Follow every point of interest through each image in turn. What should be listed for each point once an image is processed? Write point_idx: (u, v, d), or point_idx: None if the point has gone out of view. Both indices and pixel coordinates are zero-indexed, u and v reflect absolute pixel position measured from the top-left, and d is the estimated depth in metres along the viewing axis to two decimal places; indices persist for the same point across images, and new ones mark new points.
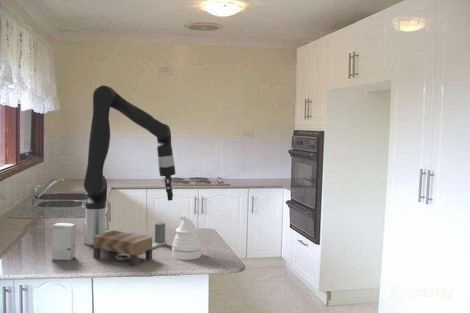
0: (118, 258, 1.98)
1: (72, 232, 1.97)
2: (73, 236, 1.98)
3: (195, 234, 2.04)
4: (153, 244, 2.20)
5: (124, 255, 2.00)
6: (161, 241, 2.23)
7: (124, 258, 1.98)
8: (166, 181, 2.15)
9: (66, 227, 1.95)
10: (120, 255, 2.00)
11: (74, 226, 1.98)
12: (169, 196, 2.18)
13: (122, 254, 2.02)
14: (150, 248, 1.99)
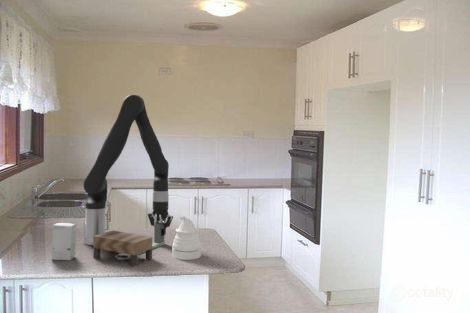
0: (118, 258, 1.98)
1: (72, 232, 1.97)
2: (73, 236, 1.98)
3: (195, 234, 2.04)
4: (152, 244, 2.20)
5: (124, 255, 2.00)
6: (160, 241, 2.23)
7: (124, 258, 1.98)
8: (170, 219, 2.20)
9: (66, 227, 1.95)
10: (120, 255, 2.00)
11: (74, 226, 1.98)
12: (164, 231, 2.23)
13: (122, 254, 2.02)
14: (150, 248, 1.99)
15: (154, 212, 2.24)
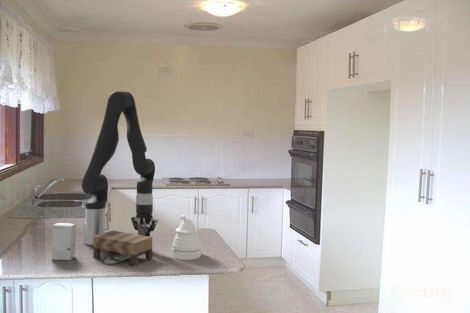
0: (107, 262, 1.91)
1: (72, 232, 1.97)
2: (73, 236, 1.98)
3: (195, 234, 2.04)
4: None
5: (113, 259, 1.94)
6: None
7: (113, 262, 1.91)
8: (154, 223, 2.09)
9: (66, 227, 1.95)
10: (109, 259, 1.94)
11: (74, 226, 1.98)
12: None
13: (111, 258, 1.95)
14: (150, 248, 1.99)
15: (138, 215, 2.13)
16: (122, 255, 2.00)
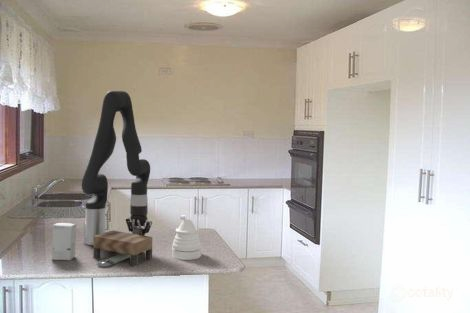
0: (100, 265, 1.88)
1: (72, 232, 1.97)
2: (73, 236, 1.98)
3: (195, 234, 2.04)
4: None
5: (106, 262, 1.90)
6: None
7: (106, 265, 1.88)
8: (149, 224, 2.06)
9: (66, 227, 1.95)
10: (102, 262, 1.90)
11: (74, 226, 1.98)
12: None
13: (104, 261, 1.92)
14: (150, 248, 1.99)
15: (132, 217, 2.09)
16: (116, 257, 1.97)
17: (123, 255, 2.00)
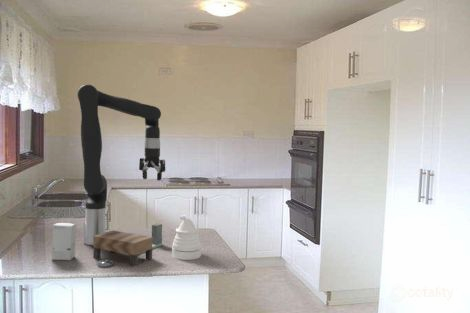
0: (100, 265, 1.88)
1: (72, 232, 1.97)
2: (73, 236, 1.98)
3: (195, 234, 2.04)
4: None
5: (106, 262, 1.90)
6: (158, 242, 2.21)
7: (106, 265, 1.88)
8: (162, 161, 2.26)
9: (66, 227, 1.95)
10: (102, 262, 1.90)
11: (74, 226, 1.98)
12: (160, 176, 2.28)
13: (104, 261, 1.92)
14: (150, 248, 1.99)
15: (146, 160, 2.30)
16: None
17: None
